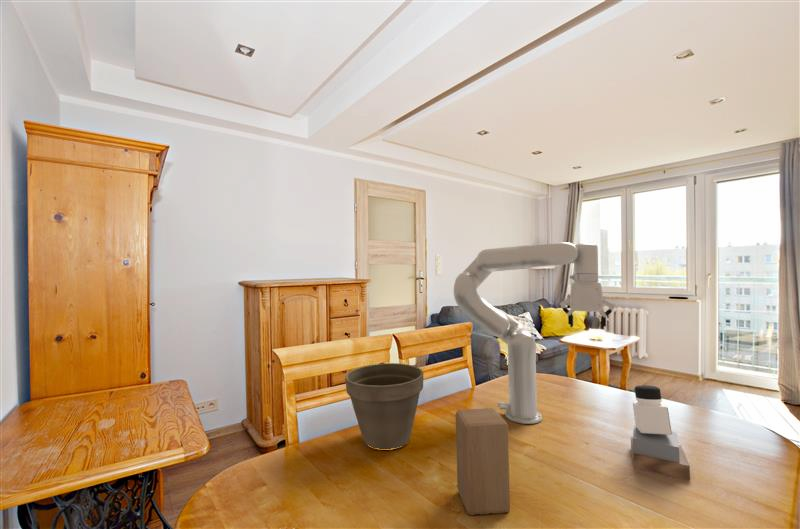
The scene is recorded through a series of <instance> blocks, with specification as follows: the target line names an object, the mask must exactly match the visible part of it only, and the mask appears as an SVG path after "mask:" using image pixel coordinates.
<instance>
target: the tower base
mask: <svg viewBox="0 0 800 529" xmlns="http://www.w3.org/2000/svg"><path fill="white" fill-rule="evenodd" d="M630 452H631V459H632V465H633V469H636V470H641V471H645V472H651V473H655V474H661V475H666V476H670V477H675V478H681V479H685V480H691V470H690V467H691V466H690V464H689V462H688V459H687V457H686V454H685V452H684V448H683V447H682V445H681V444H679V460H680V463H676V462H672V461H667V460H663V459H658V458H653V457H649V456H644V455H640V454H635V453H633V436H630Z"/></svg>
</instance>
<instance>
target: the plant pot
mask: <svg viewBox="0 0 800 529" xmlns="http://www.w3.org/2000/svg"><path fill="white" fill-rule="evenodd" d="M344 381H345V390H346V394H347V395H348V396H349V397H350V401H351V405H352V408H353V411H354V414H355V417H356V418H355V419H356V420H357V424H358V427H359V431H360V434H361V437H362V440H363V442H364V444H365V443H366V444H367V445H369V446H371V447H373V448H379V449H391V448H397V447H400V446H403V445H405V444H406V443H407V444H409V442H410V439H411V435H412V432H413V427H414V422H415V417H416V413H417V408H418V404H419V399H420V394H421V392H422V391H423V389H424V371H423V369H421V368H420V367H417V366H415V365H411V364H405V363H399V362H398V363H395V362H390V363H389V362H387V363H384V362H383V363H375V364H369V365H365V366H360V367H357V368H354V369H351V370H350V371H348V372H347V373H346V375H345V377H344ZM366 444H365V445H366ZM407 444H406V445H407ZM367 445H366V446H367ZM406 445H405V446H406ZM403 447H404V446H403Z"/></svg>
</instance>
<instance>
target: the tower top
mask: <svg viewBox="0 0 800 529" xmlns="http://www.w3.org/2000/svg"><path fill="white" fill-rule="evenodd" d="M632 430H633V432H632V437H633V453H635V454H640V455H644V456H649V457H653V458H658V459H663V460H667V461H672V462H676V463H680V460H679V445H680V444H679V438H678V432H677V431H671V432H672V435H663V434H648V433H641V432H640V431H639V430H638V429H637V428H636V425H635V424H634V425H633V429H632Z"/></svg>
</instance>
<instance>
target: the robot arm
mask: <svg viewBox="0 0 800 529" xmlns="http://www.w3.org/2000/svg"><path fill="white" fill-rule="evenodd" d="M570 264H573V274H572V275H571V274H570V275H569V279H570V280H573V282H572V283H571V286H570V293H569V295H570V296H569V298H567V299H566V300H563V301H560V302H559V306H560V307H561V310H563V312H564V313H565V314H566V315H567V318H568V319H567V320H568V321H567V322H568V325H570V326H569V327H570V328H572V327H574V314H573V313H574V312H593V313H595V312H596V313H599V315H600V316H601V317H600V328H601V329H602V330H604V329H605V327H607V317H608V316H609V315H610V314H612V312H613V310H614V309H615V307H616V304H615V303H613V302H610V301H608V300H606V299H605V298H603V297H604V296H603V288H602V284H601V282H599V248H598V245H597V244H596V243H589V242H588V243H577V244H573V243H572V242H557V243H555V242H554V243H546V244H534V245H515V246H508V247H507V246H505V247H495V248H486V249H482V250H481V251H480V252H478V254H477V256H476V257H475V258H474V260H473V261H472V262H471V263H470V264H469V265H468V266H467V267H466V268H465V269H464V270H463V272H461V273H459V274H458V275H457V277H456V279H455V280H454V286H453V296H454V301H455V303H456V304H457V306H458V308H459V310H461V311H462V312H463V313H464V314H466V315H467V316H468V317H469V318H471V320H472V321H474V322H475V323H476V324H477V325H479V326H480V327H481V328H483V329H484V330H485V331H486V332H487V333H488V334H489V335H491V336H493V337H497V338H499V340H501V342H503V343H505V344H506V345H507V369H508V370H507V371H508V372H507V373H508V399H509V400H508V401H507V402H503V401H497V407H498V408H499V409H500V410H505V413H504V415H505V416H504V417H506V419H508V420H509V421H512V422H514V423H518V424H523V425H525V424H527V425H532V424H537V423H540V422H541V421H542V420H543V415H542V414H541V413H540V412H539V411H538V403H537V402H538V397H537V392H538V391H537V366H536V364H537V360H536V358H537V344H536V338H534V336H533V335H532V333H531V332H530V331H529V329H528V328H527V327H525V326H524V325H522V323H520V322H518V321H517V320H516V319H515V318H513V317H512V316H510V314H508V313H507V312H505V311H504V310H502V309H500V308H496V307H494V306H493V305H491V303H489V302H488V301H487V300H485V299H484V297H482V296H480V295H479V293H478V291H477V290H478V288H479V287H480V286H481V284H482V283H484V282H485V280H486V279H488V277H489V276H490V275H491V274H492V273H493V272H504V271H515V270H517V271H518V270H527V269H528V270H529V269H533V268H538V267H539V268H540V267H549V266H562V265H563V266H564V265H565V266H566V265H570ZM567 304H570V306H569V308H570V309H568V307H567V306H566V305H567ZM604 305H606V306H608V307H609V308H608V309H607V310H606V311H605V310H604Z"/></svg>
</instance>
